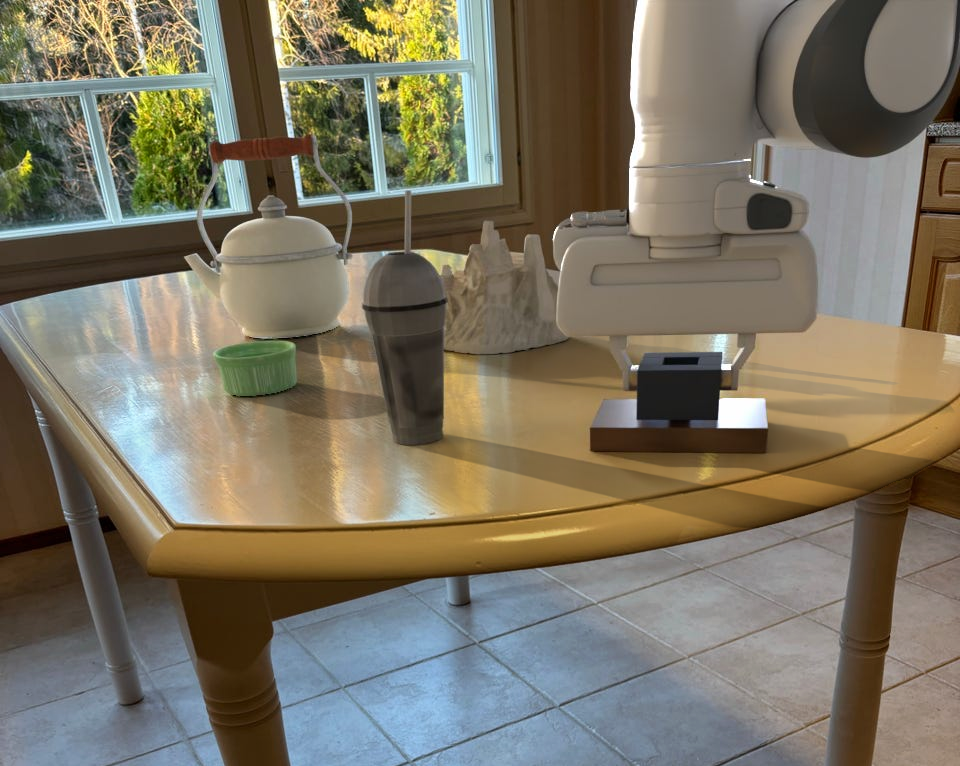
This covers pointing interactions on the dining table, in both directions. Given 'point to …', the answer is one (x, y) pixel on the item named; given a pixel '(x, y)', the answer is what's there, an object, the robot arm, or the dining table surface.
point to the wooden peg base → (681, 429)
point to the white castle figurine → (500, 298)
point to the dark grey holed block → (679, 386)
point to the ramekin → (257, 367)
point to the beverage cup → (408, 339)
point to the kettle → (276, 255)
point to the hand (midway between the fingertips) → (680, 389)
